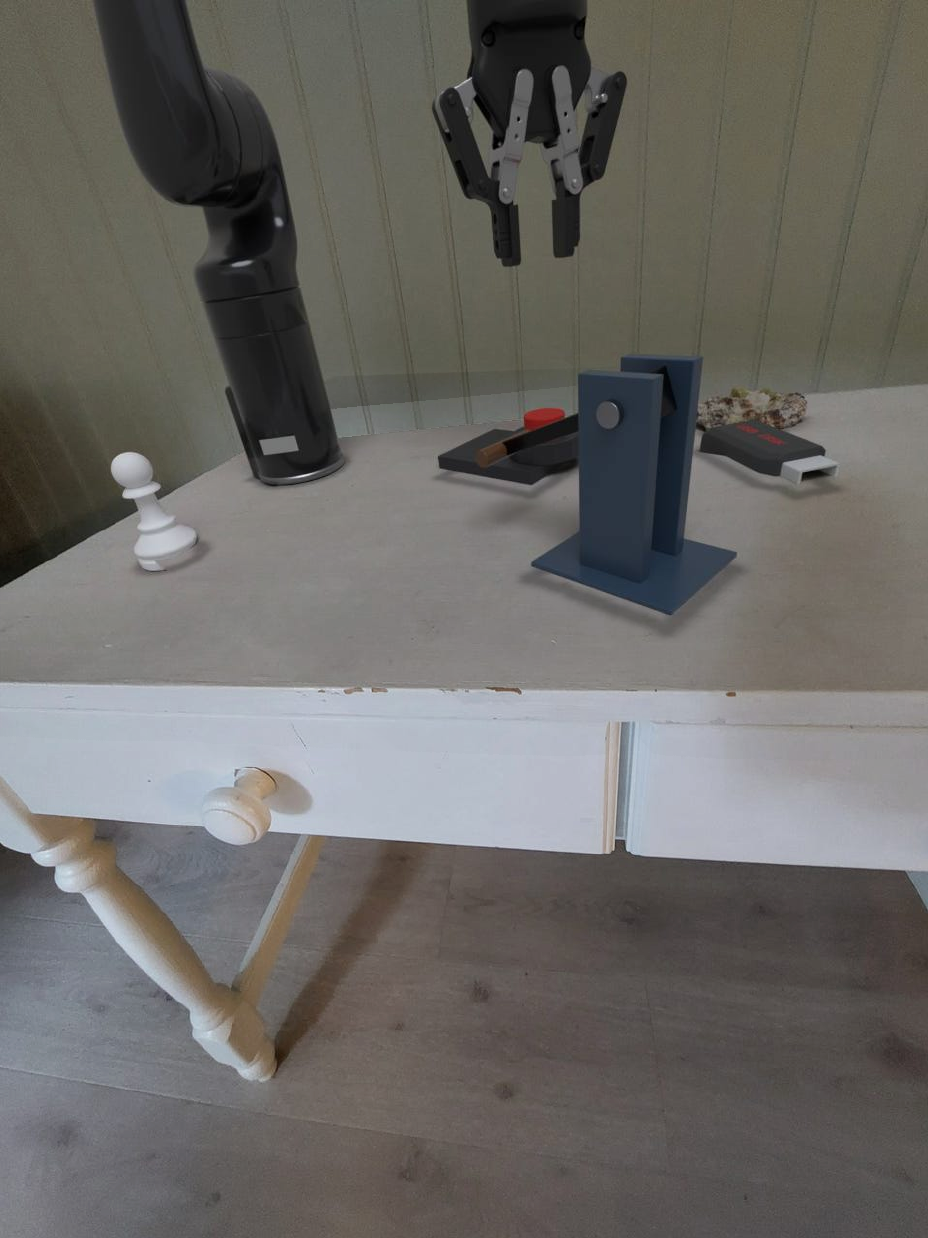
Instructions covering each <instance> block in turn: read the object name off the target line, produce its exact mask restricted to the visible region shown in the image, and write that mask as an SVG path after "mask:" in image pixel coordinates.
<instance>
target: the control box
mask: <svg viewBox="0 0 928 1238" xmlns="http://www.w3.org/2000/svg"><path fill="white" fill-rule="evenodd" d="M522 431H524V426H520V427H519V428H516V429H515V430H509V429H500V428H493V429H491V430H489V431H487V432H485V433H483V434H480V435H478V436H476V437H474V438H473V439H471V440H468V441H466V442H464V443H462V444H460V445H458V446H456V447H454V448H452V449H450V450H448V451H446V452H444V453H442V454H439V455H437V461H438V468H439V469H441V470H446V471H452V472H456V473H462V474H469V475H472V476H473V475H474V476H479V477H485V478H490V479H495V480H499V481H506V482H512V483H517V484H522V485H528V486H533V485H535V484H536V483H539V482H540V481H541V480H543V479H544V478H546V477H548V476H550V475H551V474H553V473H554V472H557V470H559V469H561V468H562V467H564V466H566V465H567V464H569V463H570V462H572V461H573V460H575V459H577V458H579V432H576V433H573V434H570V435H567V436H564V437H561V438H559V439H556V440H553V441H550V442H547V443H544V444H541V445H538V446H535V447H532V448H529V449H526V450H523V451H521V452H518V453H515V454H513V455H511V456H509V457H507V458H505V459H502V460H500V461H498V462H496V463H494V464H492V465H490V466H488V467H486V468H482V467H480V466H479V465H478V464H477V462H476V458H475V456H476V453H477V451H479V450H481V449H484V448H486V447H488V446H490V445H492V444H495V443H497V442H499V441H501V440H504V439H506V438H508V437H510V436H513V435H515V434H517V433H519V432H522Z"/></svg>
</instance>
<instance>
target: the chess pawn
mask: <svg viewBox="0 0 928 1238" xmlns="http://www.w3.org/2000/svg"><path fill="white" fill-rule="evenodd" d="M110 472H111V476H112V477H113V479H114V480H115V481H116V482H117V484H118V485H120V486H122V487H124V490H123V491H122V496H121V497H122V498H123V499H126V500H131V499H132V500H133V501H134V502H135V505H136V508H137V510H138V514H139V519H140V522H139V523H138V524H137V530H138V532H141V533H140V536H139V537H138V539H137V541H136V543H135V545H134V547H133V554H134V555H135V556H137V561H138V563H139V565H140V567H141V568H142V569H144V570H146V571H149V572H161V571H166V570H167V568H165V567H163V566H162V565H161V564H160V563H158V562H157V561H161V560H164V559H165V560H166V559H168V558H172V557H175V556H177V555H178V556H179V555H181V554H183V553H184V552H186V551H188V550H189V549H191V548H192V547H193V546H194V545H195V544H196V543H197V538H198V534H197V531H196V530H195V529H193V528H192V527H189V526H186V525H184V524H181V523H179V522H176V516H175V515H174V514H172V513H168V512H167V511H166V510H165V509H164V506H162V505H161V502H160V501H159V499H158V498H157V496H156V494H155V493H156V492H158V491H159V490H160V489H161V488H162V486H161V484H160V483H158V482H156V481H154V480H153V476H154V470H153V466H152V463H151V462H150V461H149V460H148V458H147V457H146V456H144V455H142V454H141V453H138V452H134V451H127V452H122V453H119V454H118V455H116V456H115V457H114V458H113V459H112V462H111V463H110Z"/></svg>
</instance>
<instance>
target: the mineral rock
mask: <svg viewBox="0 0 928 1238" xmlns="http://www.w3.org/2000/svg"><path fill="white" fill-rule="evenodd" d="M805 399H806V398H805V396H804V395H803V394H802V393H800V392H798V391H797V392H796V391H794V392H779V391H771V390H770V389H769V388H764V389H760V390H756V391H755V390H754V391H751V390H749V389H747V388H744V387H743V386H741V385H738V386H734V387H732V389H731V392H730V395H729V396H725V397H722V396H719V395H718V396H716V397H715V396H712V397H710V398H709V399H707V400H706V401H703V402H698V410H697V419H696V424H698V425H701V426H702V427H704V428H705V432H706V431H707V430H708V429H709V428H711V427H716V426H721V425H727V424H732V423H737V422H742V421H748V420H757V421H760V422H763V423H765V424H768V425H770V426H773V427H775V428H778V429H783V428H788V427H793V425H795V424H797V423H798V422H799V421H801V420H802V419H804V418H805V416H806V413H807V410H808V405H807V404H808V400H805Z"/></svg>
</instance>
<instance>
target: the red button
mask: <svg viewBox="0 0 928 1238" xmlns="http://www.w3.org/2000/svg"><path fill="white" fill-rule="evenodd" d="M565 417H566V411H565V410H564V409H562V408H558V407H557V408H556V407H542V408H537V409H536V408H535V409H533V410H529V411H527V412H525V413H524V414H523V427H524V430H530V431H531V430H534V429H536V428H539V427H542V426H544V425H547V424H550V423H552V422H555V421H557V420H560V419H563V418H565Z"/></svg>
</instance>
